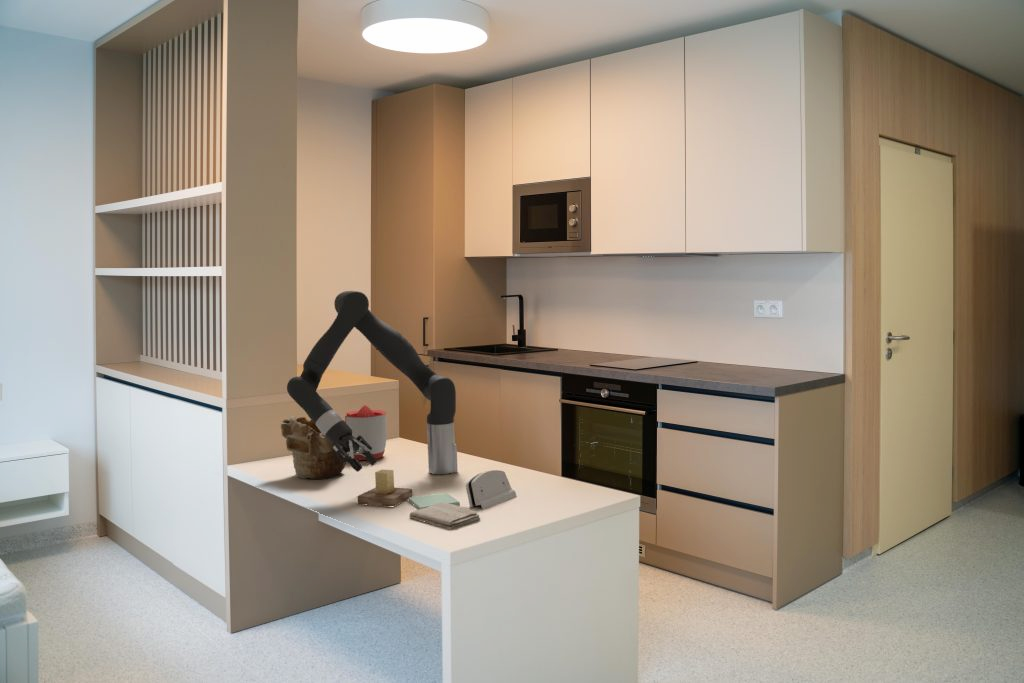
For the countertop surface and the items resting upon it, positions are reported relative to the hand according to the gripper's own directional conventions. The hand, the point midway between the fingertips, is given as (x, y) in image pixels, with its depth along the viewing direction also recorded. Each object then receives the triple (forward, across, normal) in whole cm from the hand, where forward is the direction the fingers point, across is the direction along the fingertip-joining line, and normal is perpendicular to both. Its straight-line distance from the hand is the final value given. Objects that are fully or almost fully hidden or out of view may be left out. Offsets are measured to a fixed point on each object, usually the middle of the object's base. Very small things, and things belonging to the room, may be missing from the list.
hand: (367, 466), depth 250 cm
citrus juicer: (-16, +51, +30) cm, 61 cm away
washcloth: (+30, -12, -15) cm, 36 cm away
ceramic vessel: (-15, +22, +30) cm, 40 cm away
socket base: (+11, 0, +3) cm, 12 cm away
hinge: (+33, +8, -19) cm, 39 cm away
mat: (+22, +2, -8) cm, 24 cm away
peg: (+11, 0, +3) cm, 12 cm away
